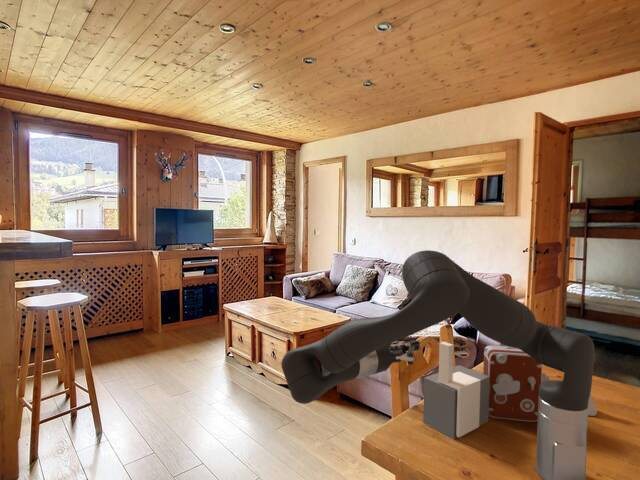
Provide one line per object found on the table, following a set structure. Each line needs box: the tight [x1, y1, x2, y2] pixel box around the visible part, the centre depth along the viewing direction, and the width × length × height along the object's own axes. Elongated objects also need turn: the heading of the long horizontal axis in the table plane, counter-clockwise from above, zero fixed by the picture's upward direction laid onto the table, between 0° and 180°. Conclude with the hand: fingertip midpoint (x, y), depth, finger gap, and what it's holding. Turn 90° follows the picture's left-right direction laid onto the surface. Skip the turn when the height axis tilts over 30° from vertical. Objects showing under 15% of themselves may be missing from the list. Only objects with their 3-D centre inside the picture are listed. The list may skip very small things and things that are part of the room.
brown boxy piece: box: [482, 344, 550, 423], centre depth 109 cm, size 9×19×20 cm, turn 78°
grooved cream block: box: [438, 341, 480, 438], centre depth 101 cm, size 9×7×23 cm
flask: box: [588, 392, 598, 417], centre depth 112 cm, size 7×7×10 cm
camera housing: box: [422, 364, 490, 441], centre depth 106 cm, size 20×10×13 cm, turn 125°
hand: (417, 344), depth 93 cm, fingers closed
